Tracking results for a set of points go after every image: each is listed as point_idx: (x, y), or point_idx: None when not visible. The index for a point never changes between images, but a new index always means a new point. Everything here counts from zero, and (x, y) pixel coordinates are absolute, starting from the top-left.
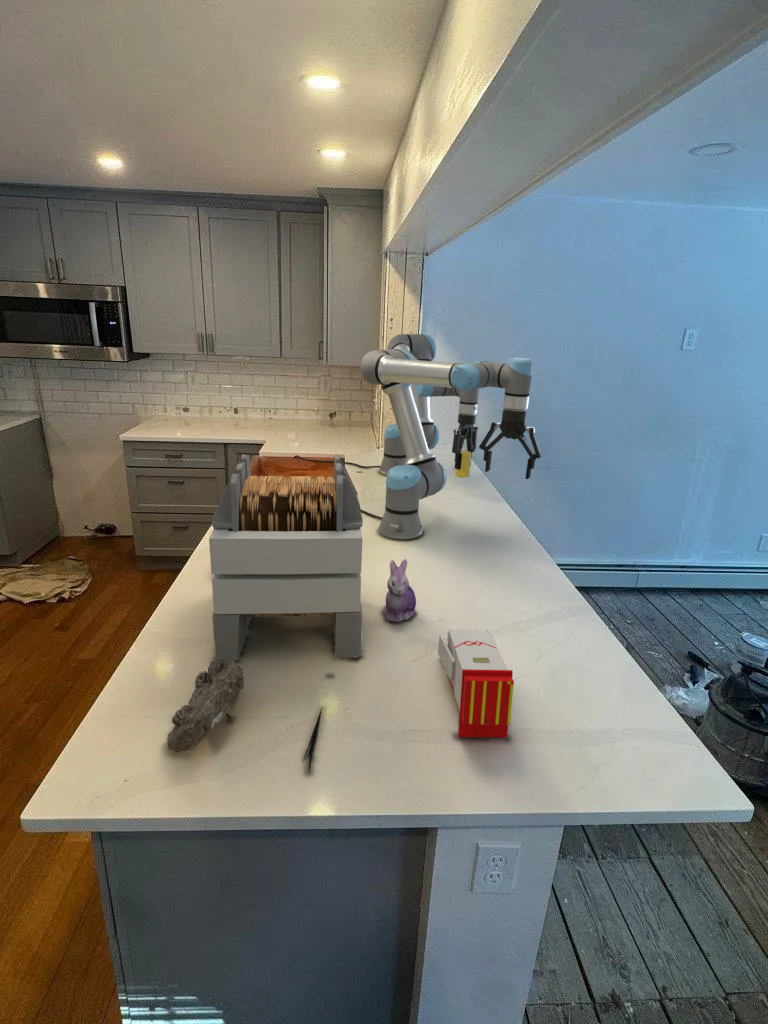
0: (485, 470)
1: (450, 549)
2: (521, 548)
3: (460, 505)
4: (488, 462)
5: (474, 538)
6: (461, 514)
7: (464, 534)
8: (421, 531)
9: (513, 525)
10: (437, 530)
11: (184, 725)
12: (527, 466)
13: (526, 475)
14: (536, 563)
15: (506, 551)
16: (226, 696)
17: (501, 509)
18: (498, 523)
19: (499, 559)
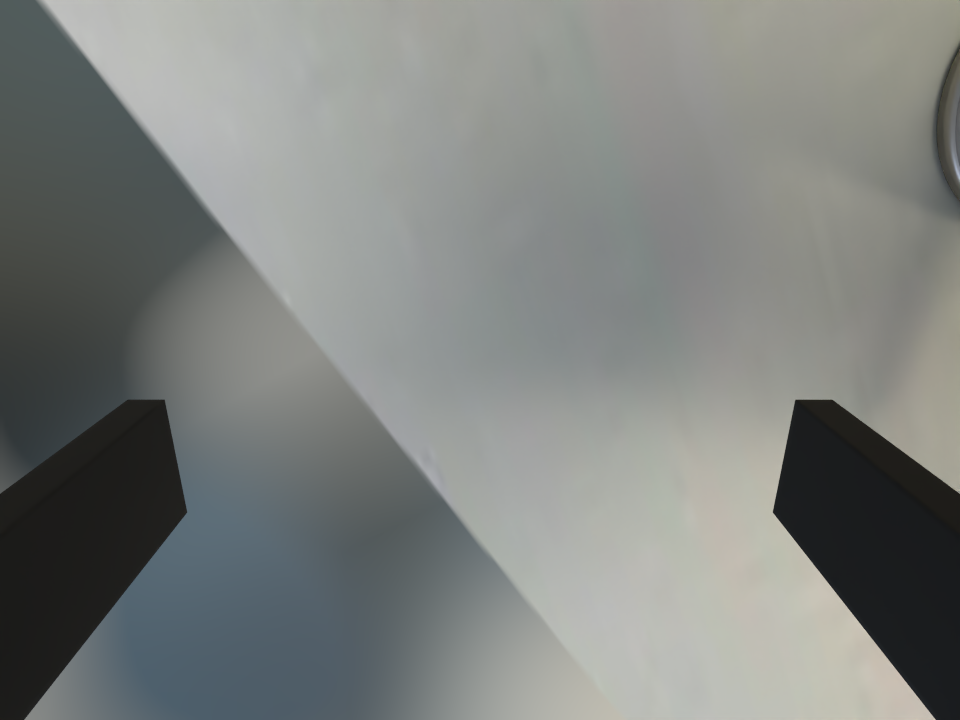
0: (835, 407)
1: (711, 23)
2: (365, 293)
3: (820, 652)
4: (889, 502)
5: (630, 277)
6: (786, 549)
7: (697, 299)
8: (954, 127)
9: (505, 554)
10: (857, 265)
11: None
12: (10, 520)
13: (121, 422)
14: (221, 137)
15: (417, 203)
16: None
17: (619, 703)
18: (579, 539)
19: (409, 60)
